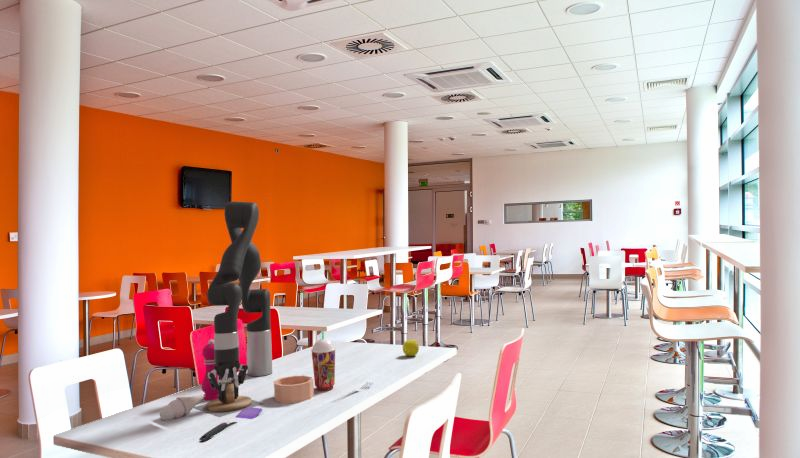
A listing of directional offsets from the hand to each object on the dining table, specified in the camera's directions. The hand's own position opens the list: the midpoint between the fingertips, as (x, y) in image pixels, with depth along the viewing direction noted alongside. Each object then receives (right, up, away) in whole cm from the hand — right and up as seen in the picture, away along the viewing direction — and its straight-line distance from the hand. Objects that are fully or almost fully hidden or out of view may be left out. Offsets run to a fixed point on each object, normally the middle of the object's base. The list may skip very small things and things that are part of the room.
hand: (228, 400), depth 181 cm
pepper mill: (-8, -3, +10) cm, 13 cm away
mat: (0, -2, 0) cm, 2 cm away
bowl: (+20, -2, +7) cm, 21 cm away
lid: (0, -2, 0) cm, 2 cm away
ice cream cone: (-12, -3, -7) cm, 14 cm away
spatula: (+6, -2, -19) cm, 20 cm away
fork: (+38, -1, +9) cm, 39 cm away
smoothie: (+28, -1, +18) cm, 33 cm away
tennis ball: (+59, -1, +65) cm, 88 cm away
